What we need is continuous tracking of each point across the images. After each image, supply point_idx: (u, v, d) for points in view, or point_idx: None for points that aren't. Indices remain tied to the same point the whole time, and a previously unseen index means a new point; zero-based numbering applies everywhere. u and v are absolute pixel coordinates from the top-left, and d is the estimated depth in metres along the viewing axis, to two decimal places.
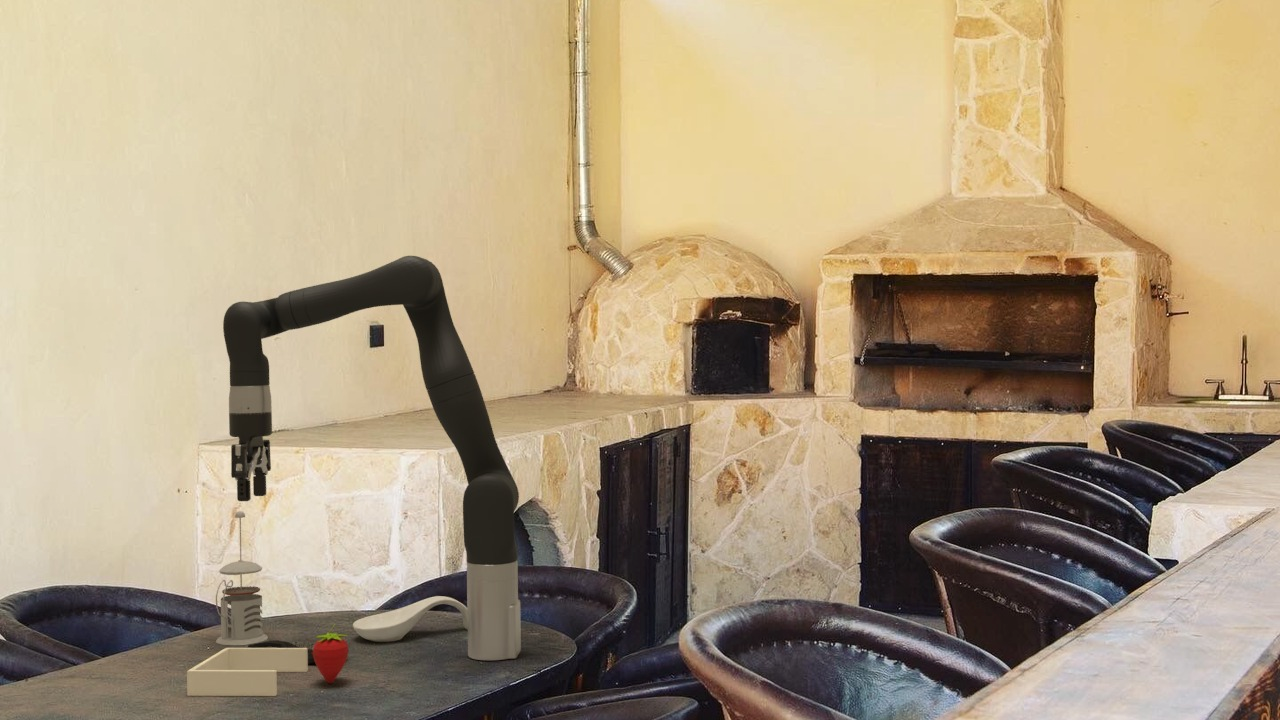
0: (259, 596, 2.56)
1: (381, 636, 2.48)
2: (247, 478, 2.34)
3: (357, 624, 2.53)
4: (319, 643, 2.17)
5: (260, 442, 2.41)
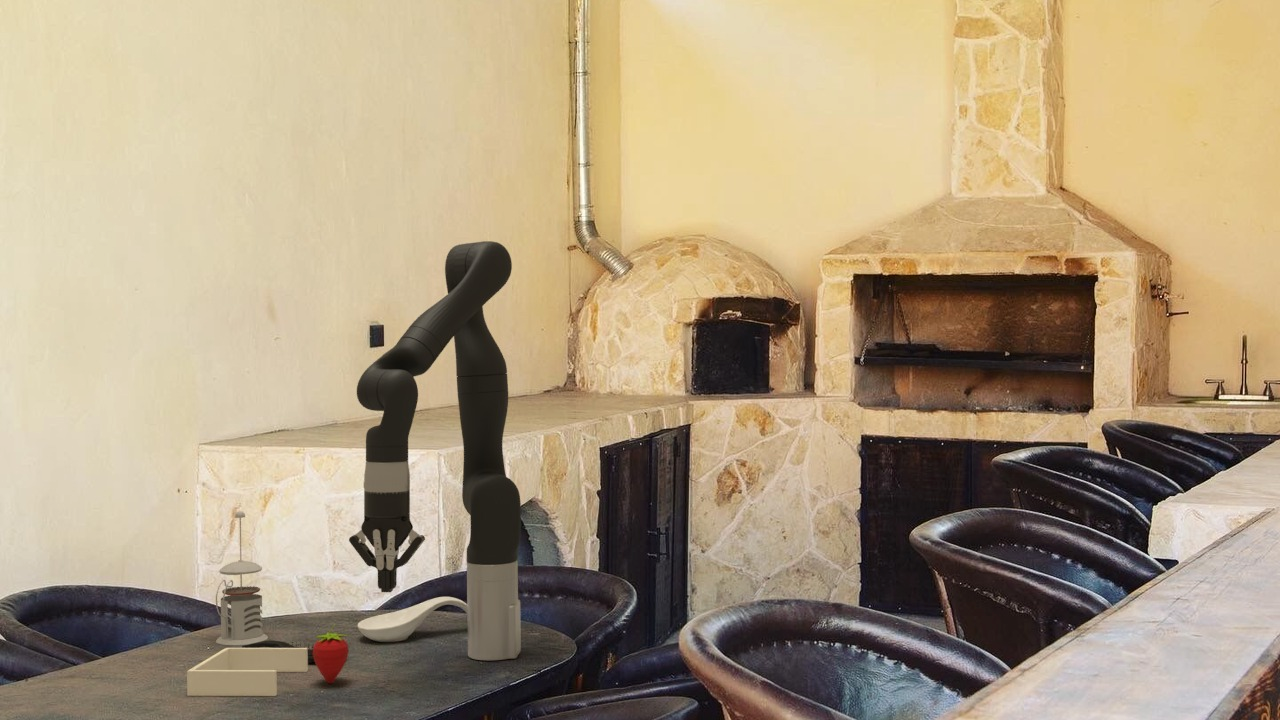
0: (259, 596, 2.56)
1: (385, 637, 2.48)
2: None
3: (362, 624, 2.53)
4: (319, 643, 2.17)
5: None
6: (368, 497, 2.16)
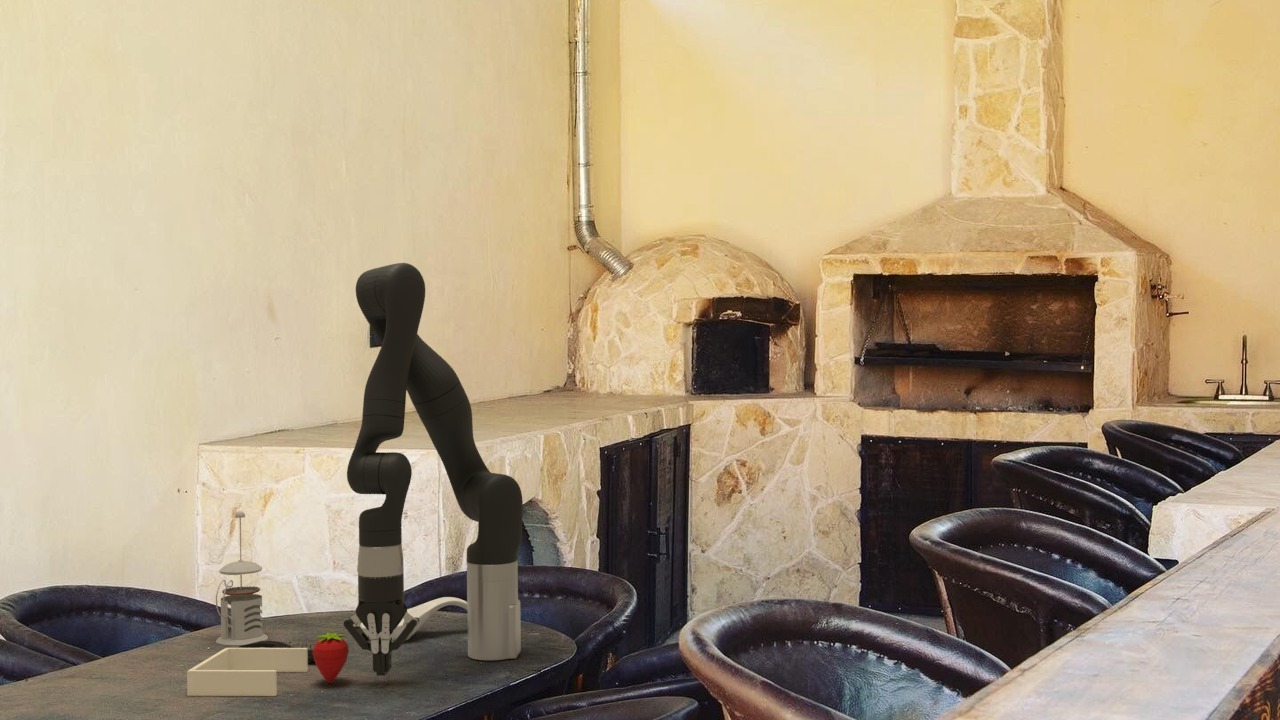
0: (259, 596, 2.56)
1: None
2: None
3: None
4: (319, 643, 2.17)
5: None
6: (362, 581, 2.15)
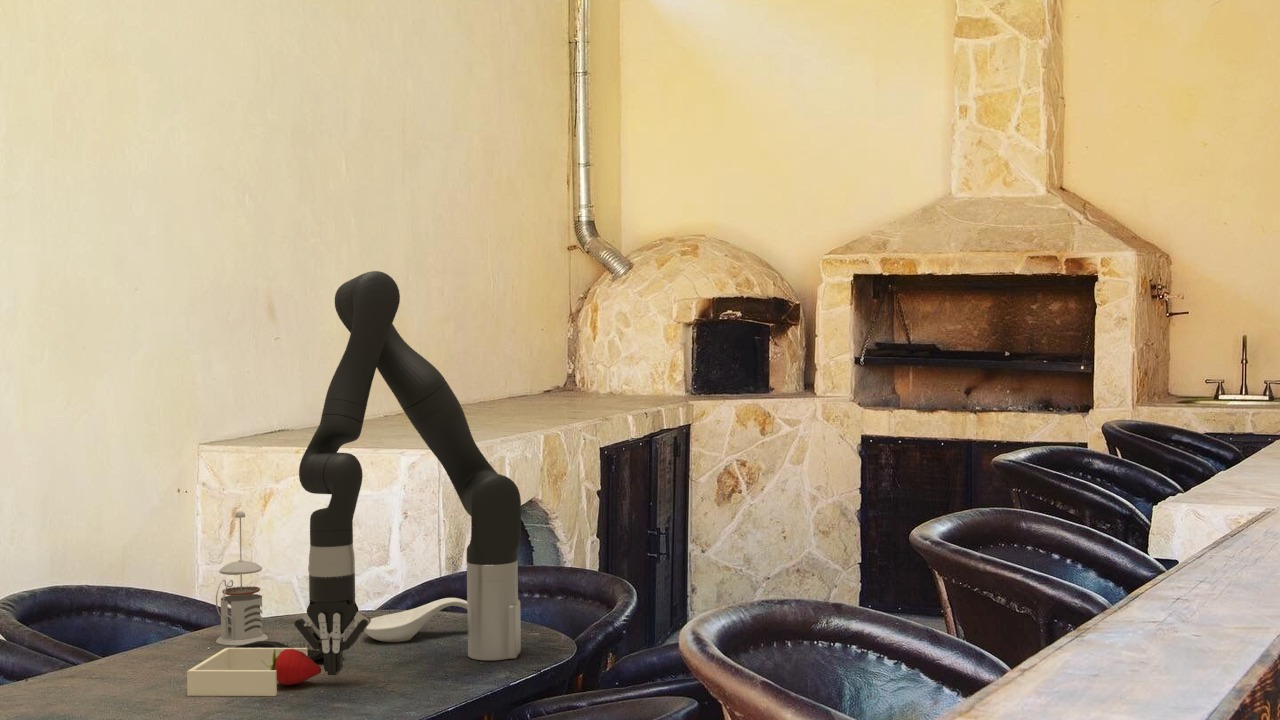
0: (259, 596, 2.56)
1: (386, 637, 2.48)
2: None
3: None
4: None
5: None
6: (313, 581, 2.16)
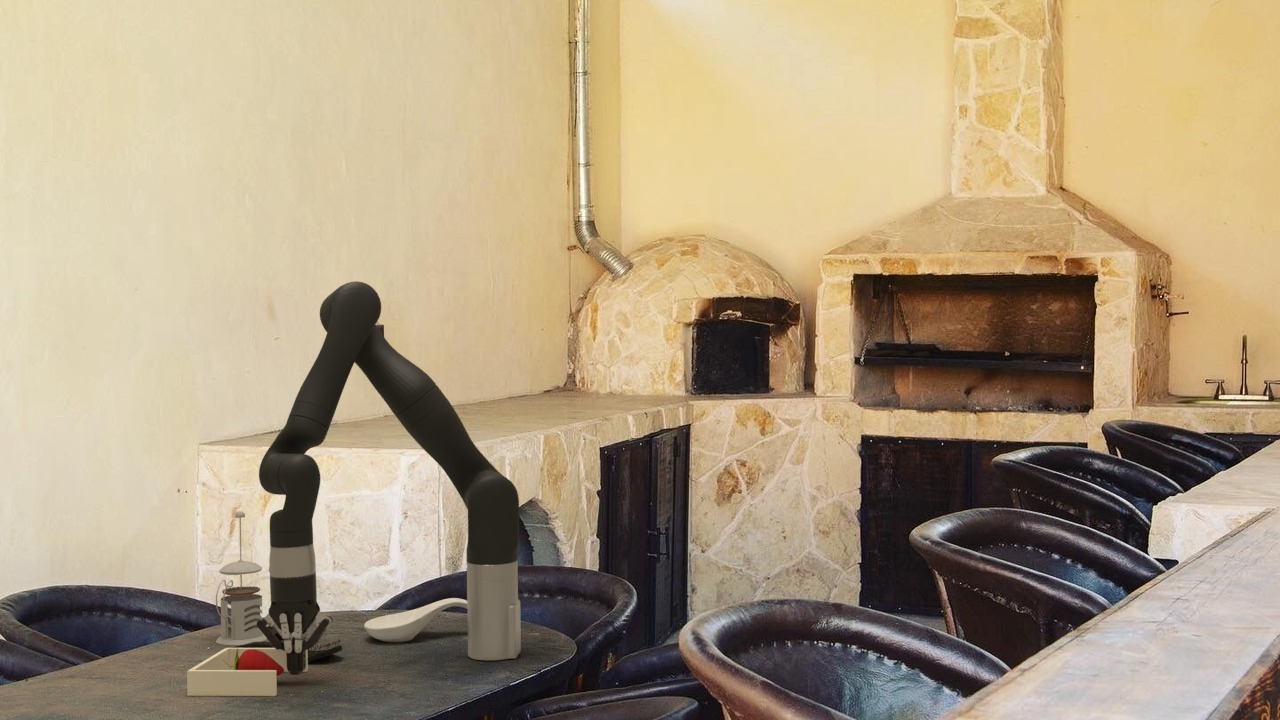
0: (259, 596, 2.56)
1: (387, 637, 2.48)
2: None
3: (370, 623, 2.54)
4: None
5: None
6: (273, 582, 2.17)
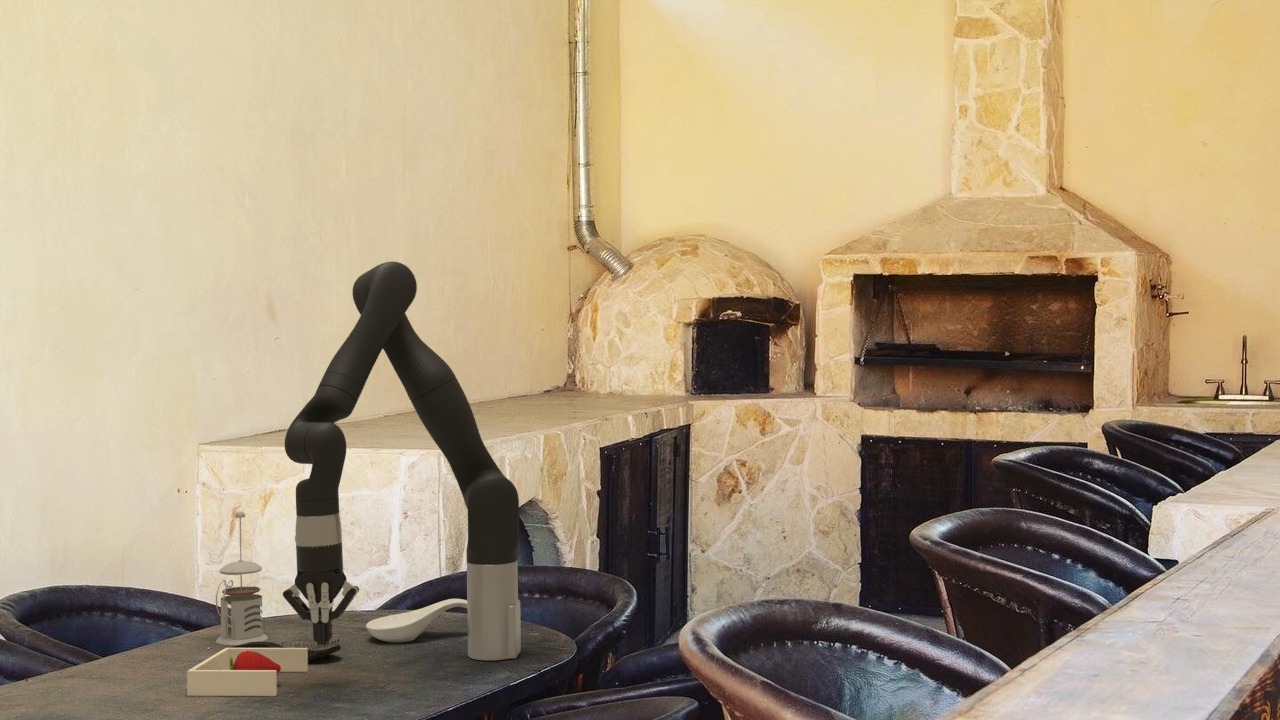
0: (259, 596, 2.56)
1: (389, 637, 2.48)
2: None
3: (372, 623, 2.54)
4: None
5: None
6: (300, 551, 2.16)
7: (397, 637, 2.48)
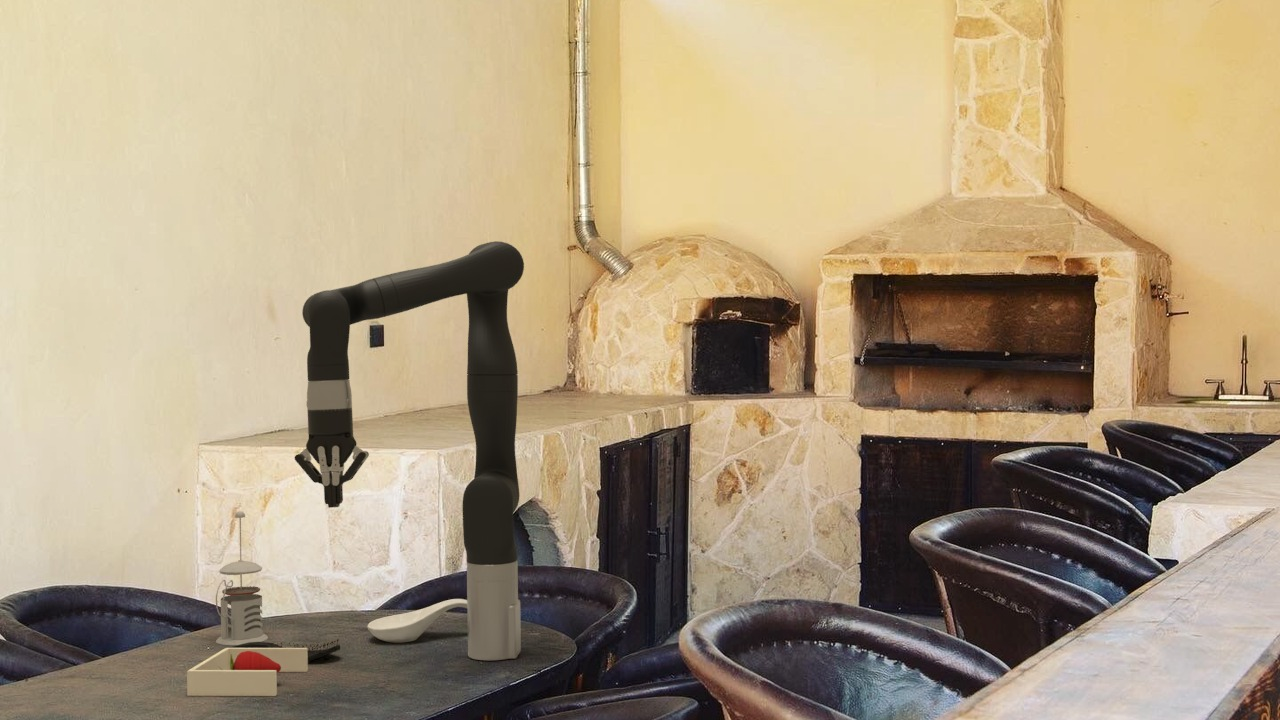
0: (259, 596, 2.56)
1: (390, 637, 2.47)
2: None
3: (374, 623, 2.54)
4: None
5: None
6: (311, 415, 2.22)
7: (398, 637, 2.48)
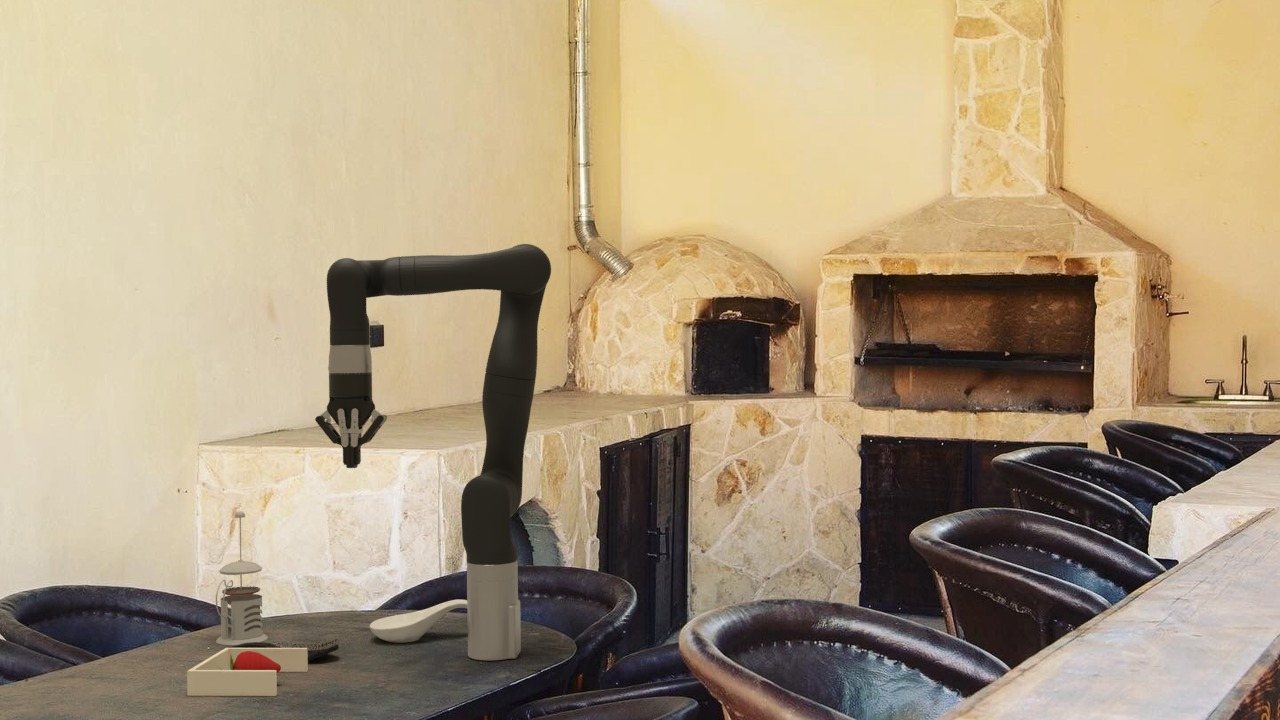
0: (259, 596, 2.56)
1: (391, 637, 2.47)
2: None
3: (377, 623, 2.54)
4: None
5: None
6: (332, 378, 2.30)
7: (399, 637, 2.48)
